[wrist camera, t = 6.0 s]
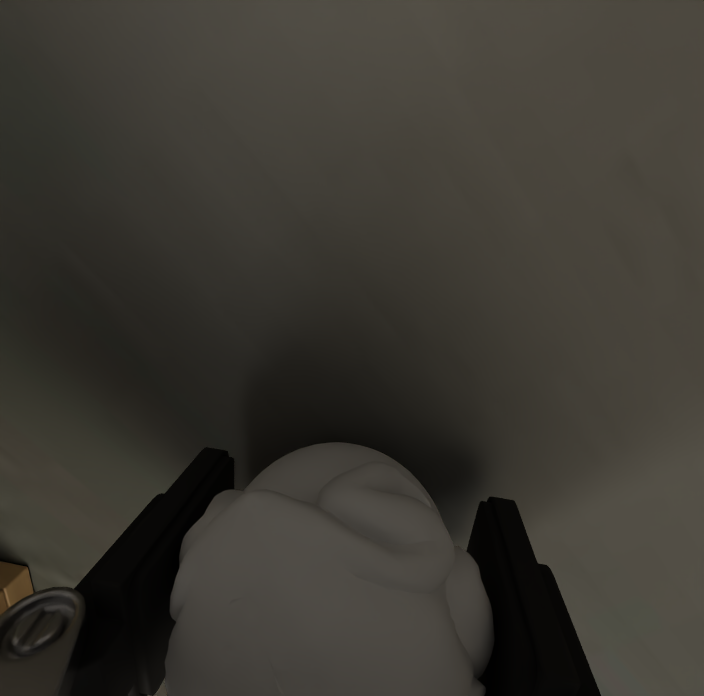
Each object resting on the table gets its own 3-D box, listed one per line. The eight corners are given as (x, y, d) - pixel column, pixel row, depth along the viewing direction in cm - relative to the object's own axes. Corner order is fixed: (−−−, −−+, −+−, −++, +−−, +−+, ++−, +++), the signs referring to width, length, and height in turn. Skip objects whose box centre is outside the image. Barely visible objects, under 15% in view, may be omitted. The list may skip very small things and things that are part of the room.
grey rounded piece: (297, 597, 13) (181, 1008, 6) (208, 408, 11) (-99, 717, 4) (490, 573, 11) (601, 1067, 5) (429, 352, 9) (475, 681, 3)
